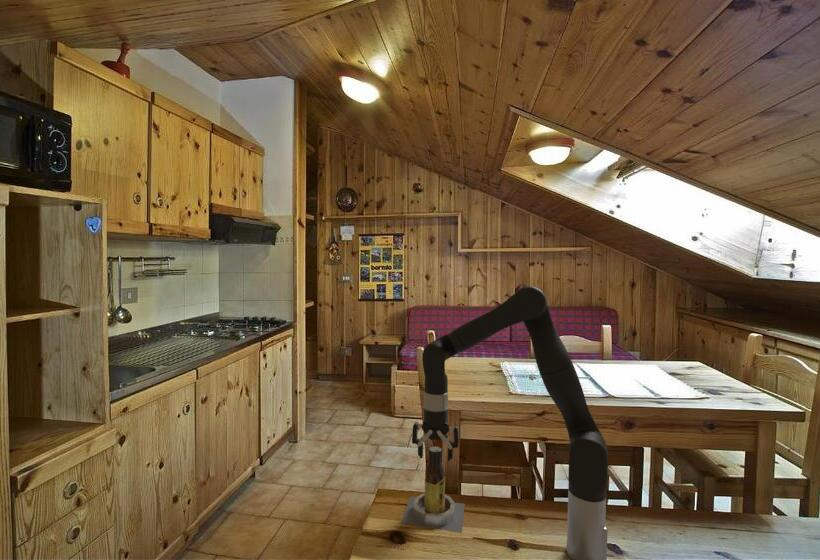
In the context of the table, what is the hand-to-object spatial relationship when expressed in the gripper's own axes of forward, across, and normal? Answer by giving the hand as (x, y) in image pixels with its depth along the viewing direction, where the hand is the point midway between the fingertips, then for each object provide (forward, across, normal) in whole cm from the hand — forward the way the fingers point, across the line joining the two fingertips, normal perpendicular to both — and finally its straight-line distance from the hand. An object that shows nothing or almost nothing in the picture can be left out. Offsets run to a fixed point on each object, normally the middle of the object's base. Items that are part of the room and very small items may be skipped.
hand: (435, 458), depth 120 cm
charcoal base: (+18, 0, 0) cm, 18 cm away
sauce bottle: (+17, 0, 0) cm, 17 cm away
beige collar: (+17, 0, 0) cm, 17 cm away
